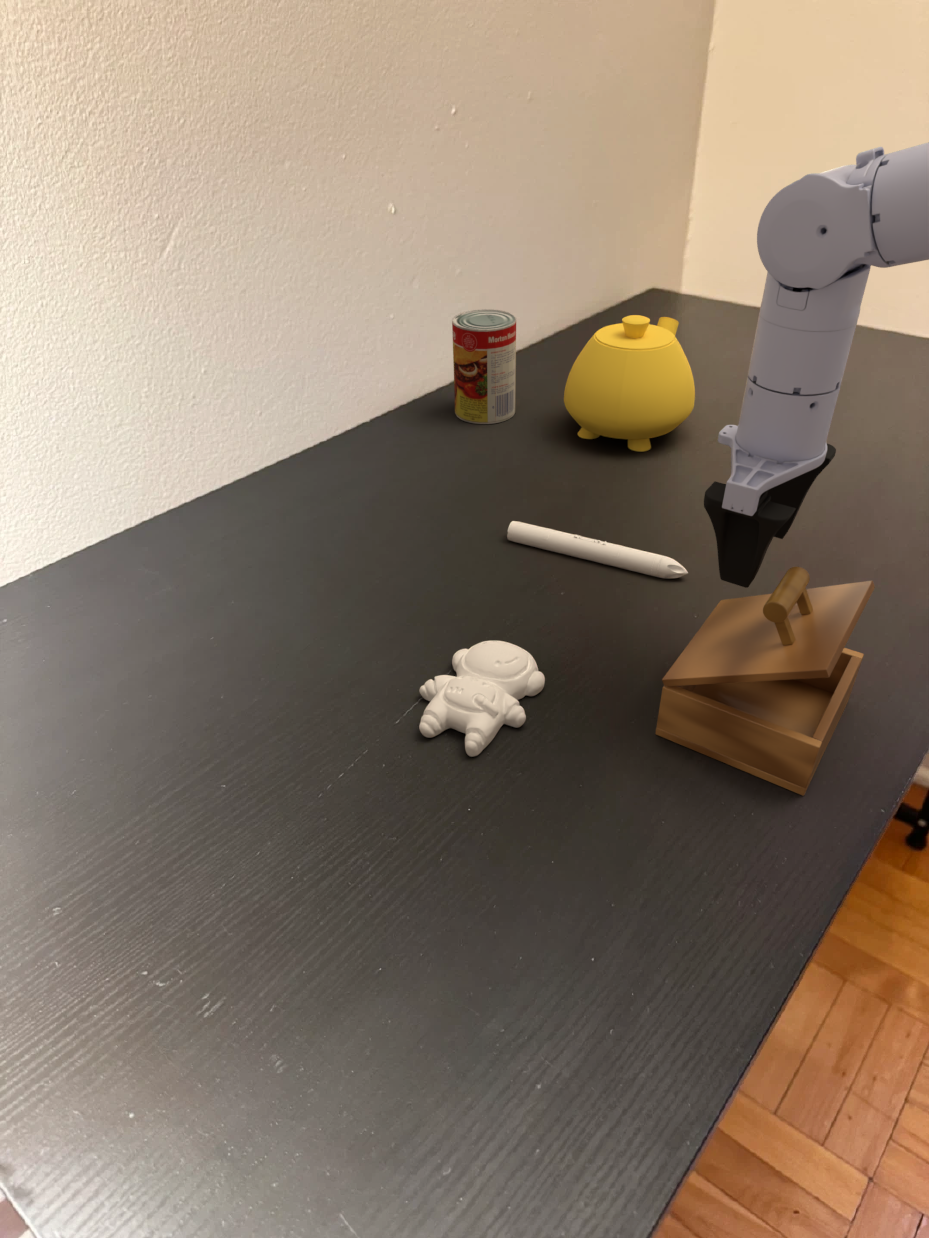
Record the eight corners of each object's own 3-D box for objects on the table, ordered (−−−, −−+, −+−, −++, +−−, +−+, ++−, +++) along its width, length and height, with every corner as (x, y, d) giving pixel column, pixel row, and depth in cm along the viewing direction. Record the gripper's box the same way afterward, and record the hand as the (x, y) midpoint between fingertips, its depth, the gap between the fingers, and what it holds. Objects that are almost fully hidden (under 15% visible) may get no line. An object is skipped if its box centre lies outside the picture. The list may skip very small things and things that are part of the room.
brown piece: (875, 587, 59) (859, 536, 58) (829, 677, 51) (809, 621, 50) (723, 606, 67) (706, 562, 66) (664, 686, 59) (644, 638, 58)
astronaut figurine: (390, 724, 64) (387, 695, 62) (476, 641, 72) (475, 612, 70) (488, 770, 60) (488, 740, 58) (567, 676, 68) (569, 647, 66)
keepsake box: (848, 700, 65) (864, 653, 62) (803, 796, 57) (819, 747, 55) (712, 652, 70) (721, 606, 67) (654, 734, 62) (662, 686, 60)
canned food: (480, 395, 115) (478, 305, 107) (527, 409, 110) (529, 316, 103) (442, 414, 110) (438, 321, 102) (490, 429, 106) (490, 334, 98)
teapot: (611, 385, 116) (619, 282, 108) (720, 408, 109) (739, 299, 101) (539, 439, 103) (543, 326, 95) (659, 469, 96) (674, 350, 88)
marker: (689, 576, 79) (693, 555, 78) (683, 588, 78) (687, 567, 76) (515, 534, 86) (515, 514, 85) (506, 544, 85) (506, 524, 83)
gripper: (769, 335, 61) (735, 501, 69) (690, 404, 51) (663, 587, 59) (871, 353, 57) (824, 525, 66) (808, 430, 48) (761, 620, 56)
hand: (753, 556), depth 62 cm, fingers open, 7 cm apart
